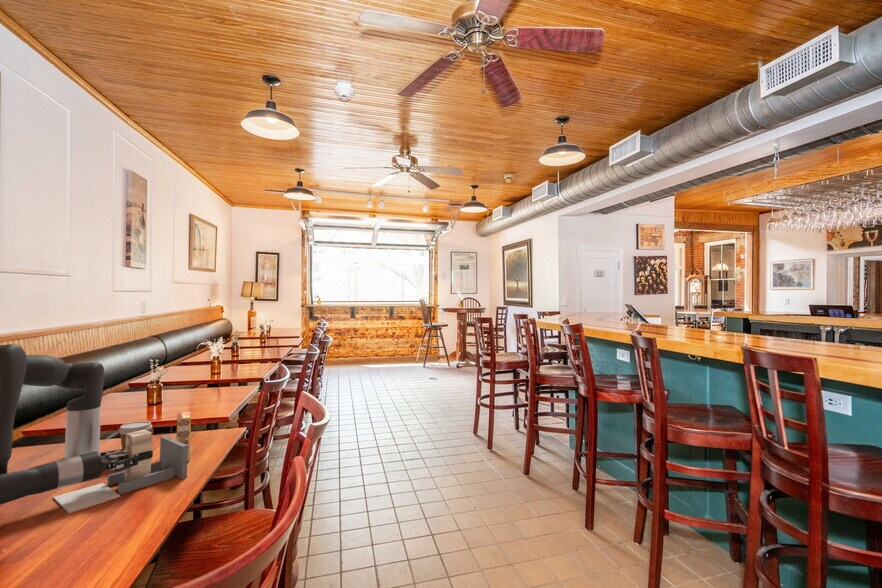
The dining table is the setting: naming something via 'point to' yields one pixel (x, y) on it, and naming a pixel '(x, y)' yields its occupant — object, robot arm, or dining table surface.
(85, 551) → the dining table surface
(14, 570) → the dining table surface
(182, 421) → the candy box
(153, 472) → the lane rack
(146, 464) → the ash block
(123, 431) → the disposable coffee cup
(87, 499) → the mat
